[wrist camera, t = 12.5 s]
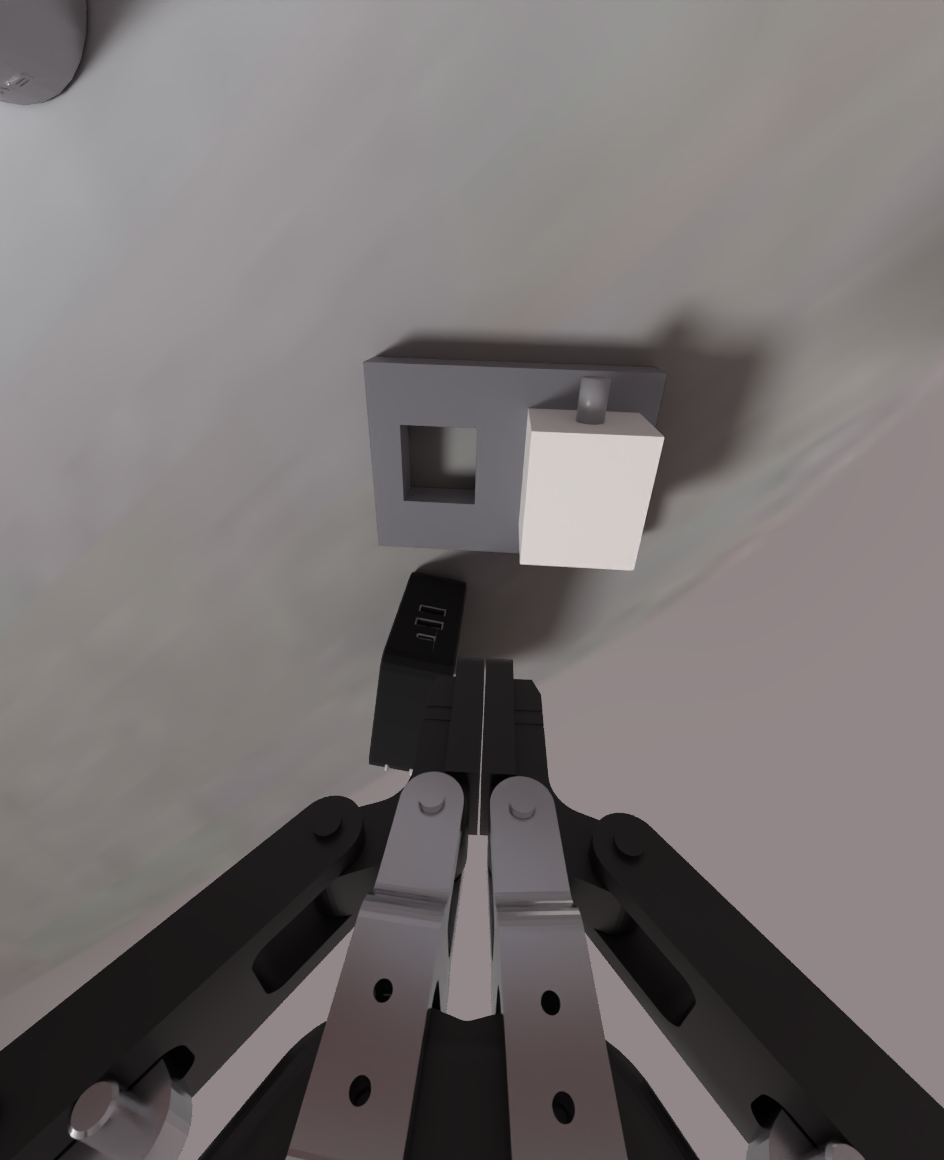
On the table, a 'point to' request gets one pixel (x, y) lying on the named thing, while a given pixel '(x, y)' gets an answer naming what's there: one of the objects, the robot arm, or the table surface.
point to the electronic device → (414, 665)
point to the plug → (586, 483)
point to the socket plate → (500, 415)
